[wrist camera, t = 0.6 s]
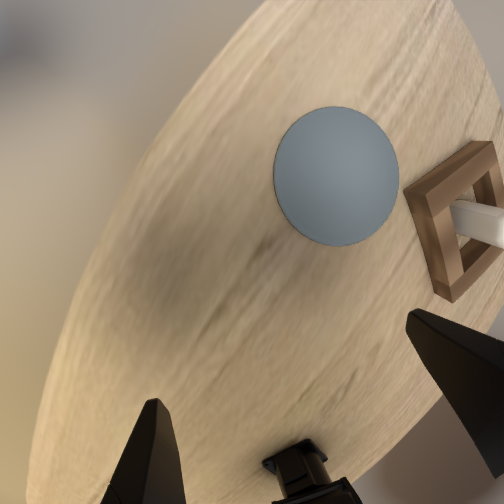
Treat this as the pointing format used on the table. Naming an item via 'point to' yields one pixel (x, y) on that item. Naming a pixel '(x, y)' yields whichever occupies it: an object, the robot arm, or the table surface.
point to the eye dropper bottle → (478, 221)
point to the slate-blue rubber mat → (336, 176)
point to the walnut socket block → (440, 221)
